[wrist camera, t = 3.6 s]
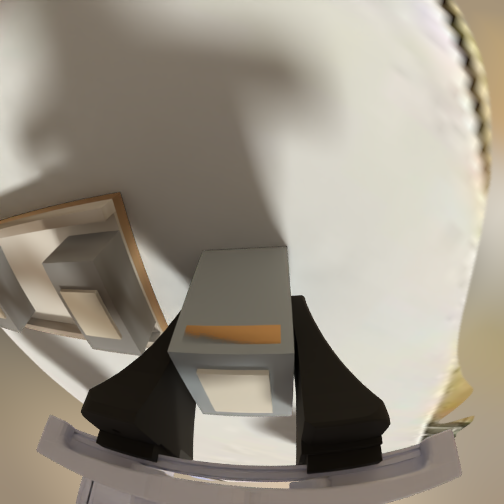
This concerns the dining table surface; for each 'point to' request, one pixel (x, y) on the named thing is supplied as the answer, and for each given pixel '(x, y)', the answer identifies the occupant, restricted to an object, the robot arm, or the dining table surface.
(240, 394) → the loose module
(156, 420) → the robot arm
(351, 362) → the dining table surface
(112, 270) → the grey compartment tray
